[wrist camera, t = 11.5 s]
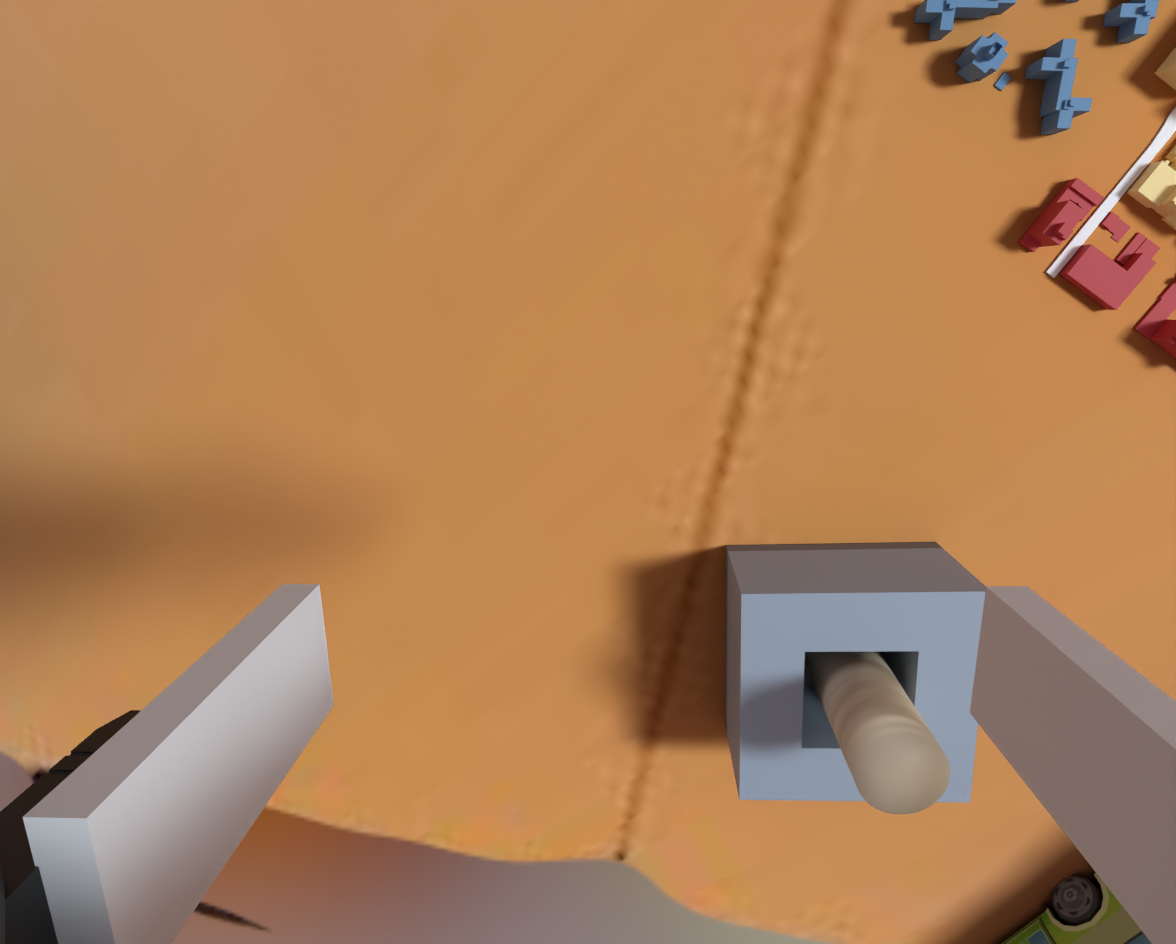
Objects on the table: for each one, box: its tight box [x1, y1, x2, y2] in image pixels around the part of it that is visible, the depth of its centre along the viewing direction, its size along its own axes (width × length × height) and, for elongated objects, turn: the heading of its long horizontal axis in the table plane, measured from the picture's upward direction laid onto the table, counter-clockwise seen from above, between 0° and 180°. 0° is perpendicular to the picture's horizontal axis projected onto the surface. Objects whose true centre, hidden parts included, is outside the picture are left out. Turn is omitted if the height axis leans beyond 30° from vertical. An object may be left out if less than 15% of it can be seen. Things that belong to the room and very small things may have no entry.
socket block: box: [725, 542, 986, 802], centre depth 41 cm, size 12×12×7 cm
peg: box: [804, 652, 950, 814], centre depth 38 cm, size 4×4×12 cm
